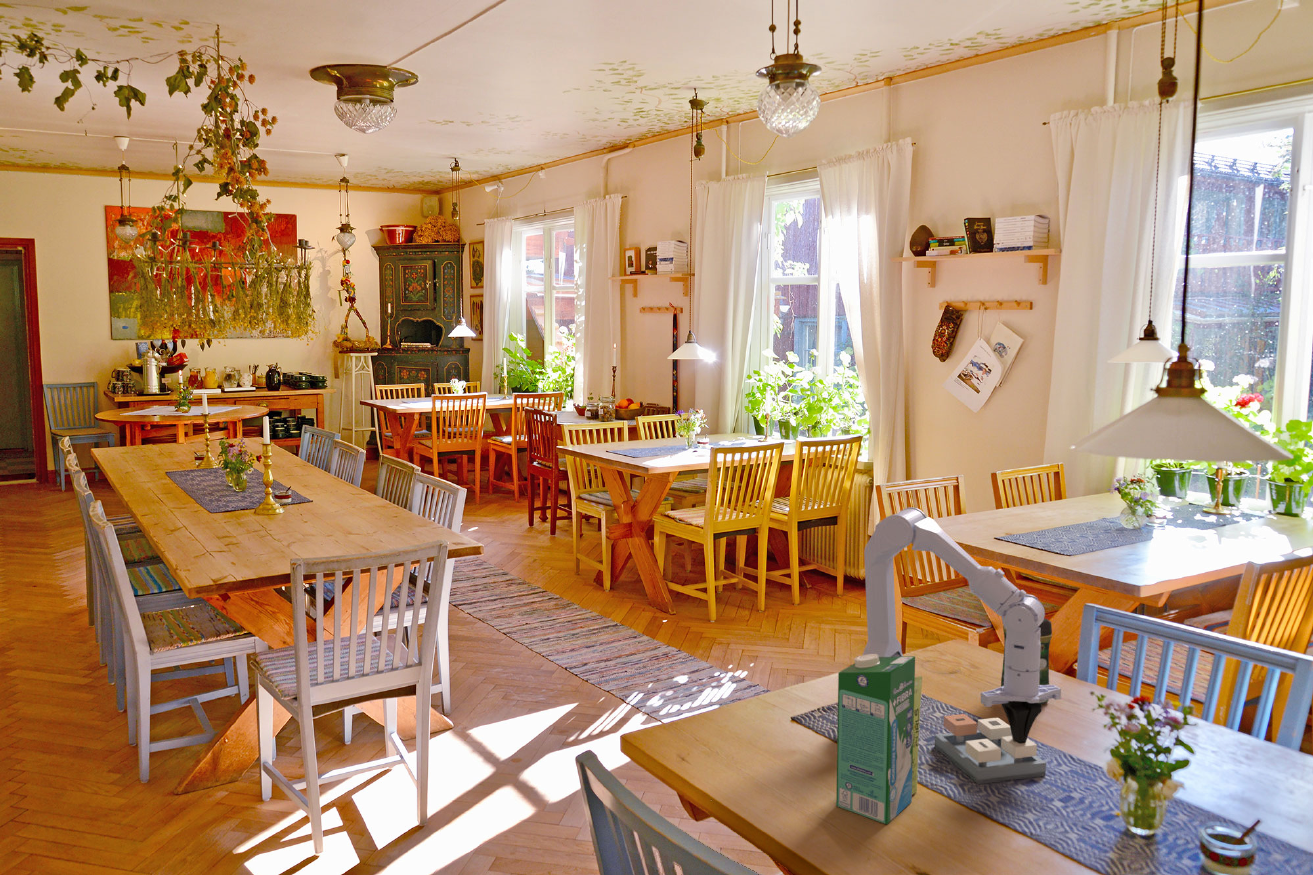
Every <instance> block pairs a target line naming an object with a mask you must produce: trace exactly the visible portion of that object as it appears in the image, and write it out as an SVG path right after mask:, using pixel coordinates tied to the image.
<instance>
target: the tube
mask: <svg viewBox="0 0 1313 875" xmlns="http://www.w3.org/2000/svg"><path fill="white" fill-rule="evenodd" d="M922 685H923V675H918V676H915V687H914V725H913V763H912V796H913V795H915V794H916V793H917V791H918V773H919V772H918V771H919V770H918V769H919V768H918V767H919V740H920V738H919V737H920V717H921V701H922V687H923V686H922Z"/></svg>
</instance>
